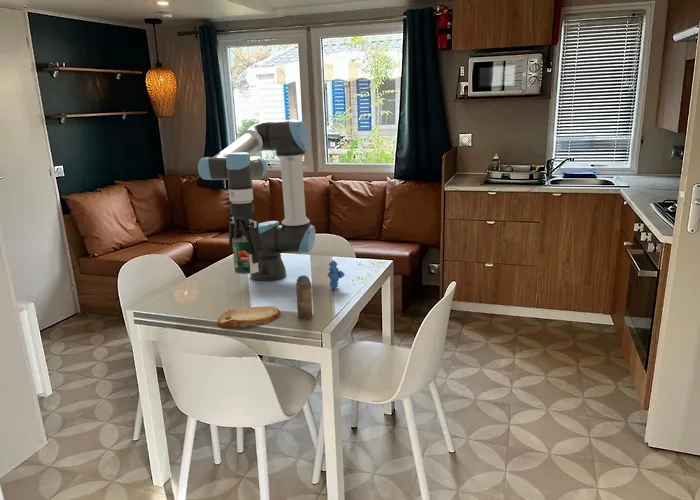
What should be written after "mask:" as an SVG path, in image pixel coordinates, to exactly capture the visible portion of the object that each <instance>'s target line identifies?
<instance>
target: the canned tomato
mask: <svg viewBox="0 0 700 500" xmlns="http://www.w3.org/2000/svg"><path fill="white" fill-rule="evenodd" d="M232 244H233V249H232V254H233V264H234V265H233V266H234V273H235V274H237V275H248V274H250V262H249V253H250V249H249V246H248V241H247V240H246V236H245V235H242V237H241V238H233V239H232ZM258 271H259V266H258Z"/></svg>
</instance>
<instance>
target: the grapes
mask: <svg viewBox="0 0 700 500" xmlns="http://www.w3.org/2000/svg"><path fill="white" fill-rule="evenodd" d="M328 265H329V268H328V270H329V272H328V273H327V277H329V279H330V282H329V288H331V289H332V290H334V291H335V290H336V289H337V288H338V286H339V280H340V279H342V278H343V277H344V276H345V272H344V271H342V270H339V269H340V268H338V267H337V266H338V263H337V262H336V261H335V260H331V261H330V262H329V264H328Z"/></svg>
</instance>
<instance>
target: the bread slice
mask: <svg viewBox="0 0 700 500" xmlns="http://www.w3.org/2000/svg"><path fill="white" fill-rule="evenodd" d="M280 312H281V309H279V308H278V307H277V306H274V305H268V306H267V305H266V306H265V305H264V306H250V307H243V308H237V309H236V308H235V309H228V310H227V311H225V312H223V313H222V314H221V315H220V317H219V318H218V320H217V322H216V323H217V324H216V325H217V326H218V327H220V328H231V329H232V328H233V329H240V328H248V327H255V326H257V325H256V324H259V325H261V324H260V323H263V324H265V323H264V322H266V323H268V322H267V321H270V320H272V321H274V320H273V319H275V318H276V319H278V318H280V316H281V315H282V312H281V313H280ZM280 314H281V315H280ZM277 317H278V318H277ZM276 319H275V320H276ZM270 322H271V321H270ZM254 325H255V326H254Z"/></svg>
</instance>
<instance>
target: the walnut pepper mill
mask: <svg viewBox="0 0 700 500" xmlns="http://www.w3.org/2000/svg"><path fill="white" fill-rule="evenodd" d="M295 291H296V292H295V293H296V306H297V307H296V308H297V319H298V318H299V320H301V319H307V320H310V318H311V319H313V317H314V316H313V298H312V297H313V296H312V282H311V279H310V278H309V277H308V276H307V275H305V274H302V275H299V276H298V277H297V279H296V282H295Z"/></svg>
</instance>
